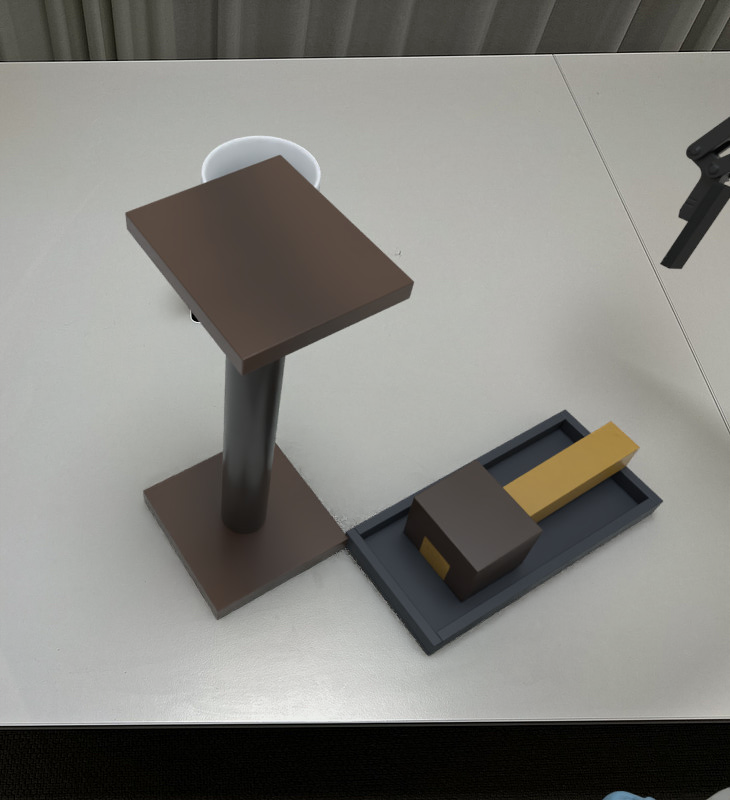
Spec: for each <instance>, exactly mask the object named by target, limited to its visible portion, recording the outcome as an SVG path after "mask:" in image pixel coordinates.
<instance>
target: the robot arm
mask: <svg viewBox="0 0 730 800" xmlns="http://www.w3.org/2000/svg"><path fill="white" fill-rule="evenodd" d="M729 149H730V116H728V117H727V118H725V119H724V120H722V121H721V122H720V123H718V124H717V125H716V126H714V127H713V128H712V129H710V130H709V131H707V132H706V133H704V134H703V135H702V136H700V137H699V138H698V139H696V140H695V141H694V142H692V143H691V144H690V145H689V146H688V147H687V148H686V150H685V155H686V157H687V158H688V160H691V161H692V162H693V163H694V164H695V165H696V166H697V167H698V168H699V170H700V177H699V179H698V181H697V182H696V184H695V186H694V187H693V189H692V190H691V191H690V193H689V195H688V196H687V198H686V199H685V201H684V202H683V204H682V205H681V207H680V208H679V211H678V216H677V218H678V219H681V220H684V221H685V222H686V223H685V225H684V227H682V230H681V231H680V233H679V234H678V236H677V237H676V239H675V240H674V242H673V243H672V244H671V246H670V248H669V249H668V251H667V252H666V253H665V255H664V256H663V258H662V260H661V261H660V262H659V265H661V266H663V267H664V268H667V269H669V270H683V268H684V267H685V266H686V263H687V262H688V261H689V259H690V257H691V256H692V254H693V253H694V252H695V250H696V249H697V247H698V246H699V244H700V243H701V241H702V240H703V238H704V237H705V235H706V234H707V233H708V231H709V230H710V228H711V227H712V225H713V224H714V223H715V221H716V220H717V218H718V217H719V215H720V214H721V212H722V210H723V209H724V208H725V206H726V205H727V203H729V200H730V185H728V184H725V183H728V182H730V153H727V154H726V155H723V156H721V154H723V153H724V152H725V151H728V150H729ZM602 800H656V799H655V798H653V797H652V796H646V797H642V796H639V795H636V794H634V793H631V792H628V791H623V790H622V791H620V790H619V791H618V790H617V791H613V792H610V793H609V794H607V795H606V796H605V797H603V799H602ZM706 800H730V786H729V787H726V788H724V789H721V790H719V791H716V793H714V794H713V795H711V796H710V797H709V798H708V797H707V799H706Z"/></svg>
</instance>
